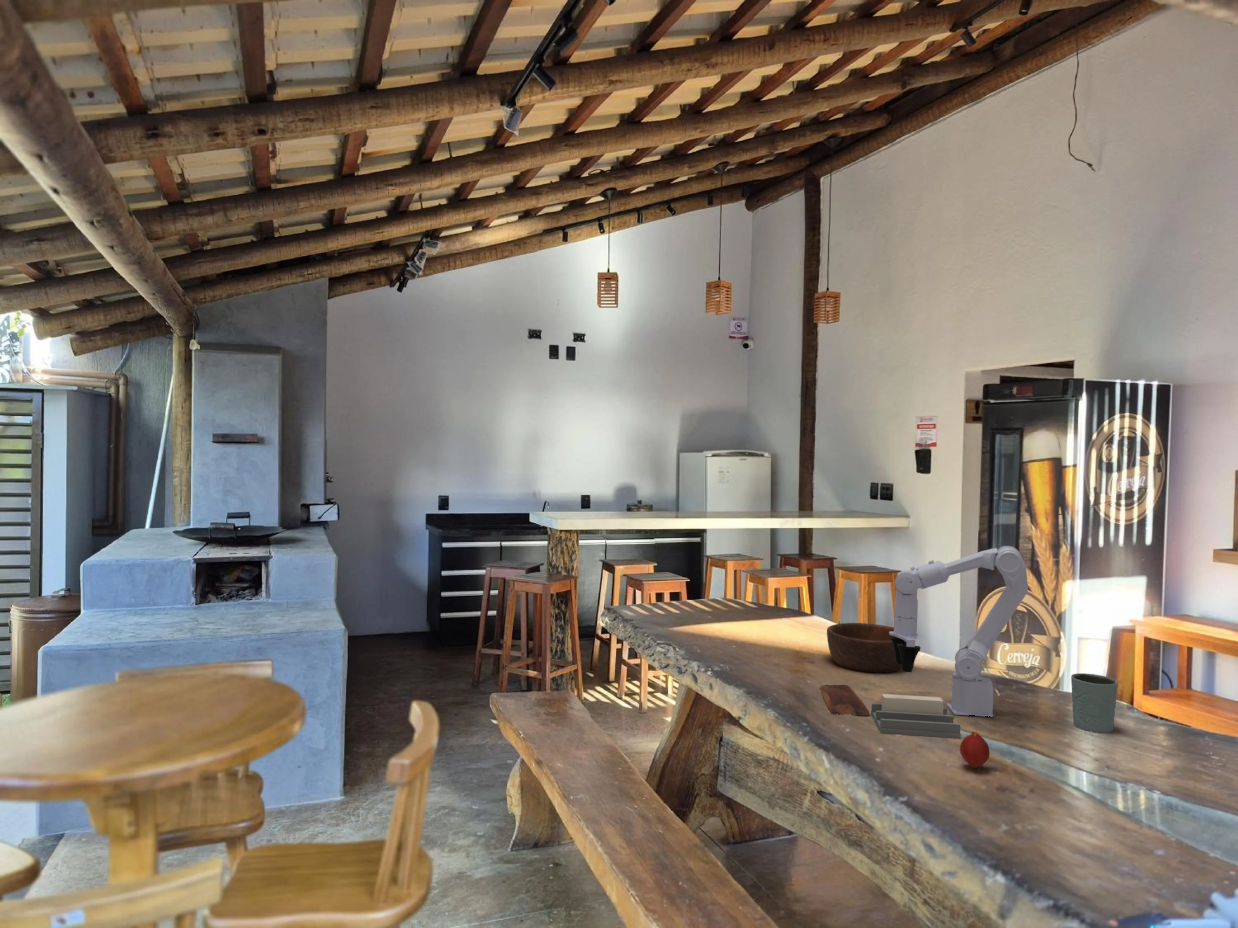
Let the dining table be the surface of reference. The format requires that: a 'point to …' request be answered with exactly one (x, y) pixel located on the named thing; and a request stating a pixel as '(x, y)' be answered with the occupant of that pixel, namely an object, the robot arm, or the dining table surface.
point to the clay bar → (912, 704)
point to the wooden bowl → (862, 647)
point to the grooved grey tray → (915, 723)
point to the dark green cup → (1094, 702)
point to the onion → (974, 750)
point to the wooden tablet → (843, 700)
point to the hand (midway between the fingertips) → (904, 667)
